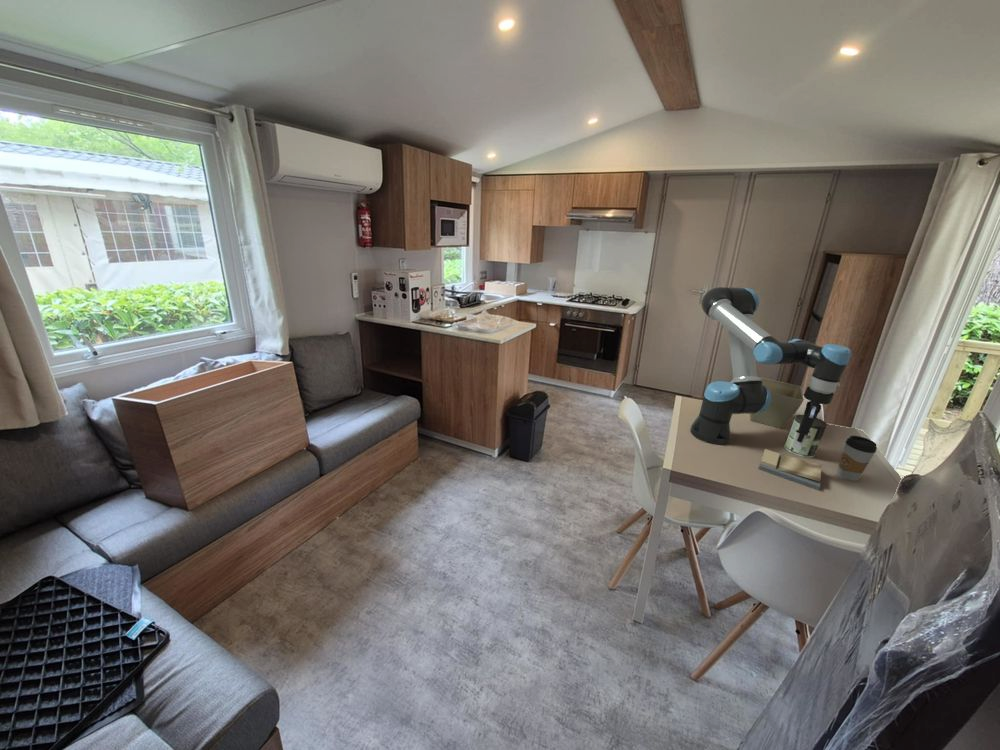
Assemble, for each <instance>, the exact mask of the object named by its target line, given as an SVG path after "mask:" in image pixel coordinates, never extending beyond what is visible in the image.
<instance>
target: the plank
mask: <svg viewBox="0 0 1000 750" xmlns="http://www.w3.org/2000/svg"><path fill="white" fill-rule="evenodd" d="M781 455H782V456H781V460H780V464H779V468H778V470H782V471H785V472H789V473H792V474H795V475H799V476H802V477H806V478H809V479H812V480H816V481H819V482H820V483H821V479H822V464H818V463H815V462H811V461H808V460H803V459H800V458H797V457H793V456H789V455H785V454H783V453H782V454H781Z"/></svg>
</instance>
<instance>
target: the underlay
mask: <svg viewBox="0 0 1000 750" xmlns="http://www.w3.org/2000/svg"><path fill="white" fill-rule="evenodd" d="M781 456H782V454H780V453H779V452H775V451H772V450H770V449H767V448H765V449H764V451H763V453H762V456H761V459H760V463H759V466H758V470H760V471H763V472H766V473H768V474H771V475H774V476H777V477H780V478H782V479H785V480H788V481H791V482H794V483H796V484H800V485H802V486H805V487H808V488H811V489H813V490H817V491H819V490H820V488H821V481H820V482H819V481H816V480H812V479H809V478H806V477H802V476H799V475H795V474H792V473H789V472H785V471H782V470H778V468H779V464H780V460H781Z"/></svg>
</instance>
